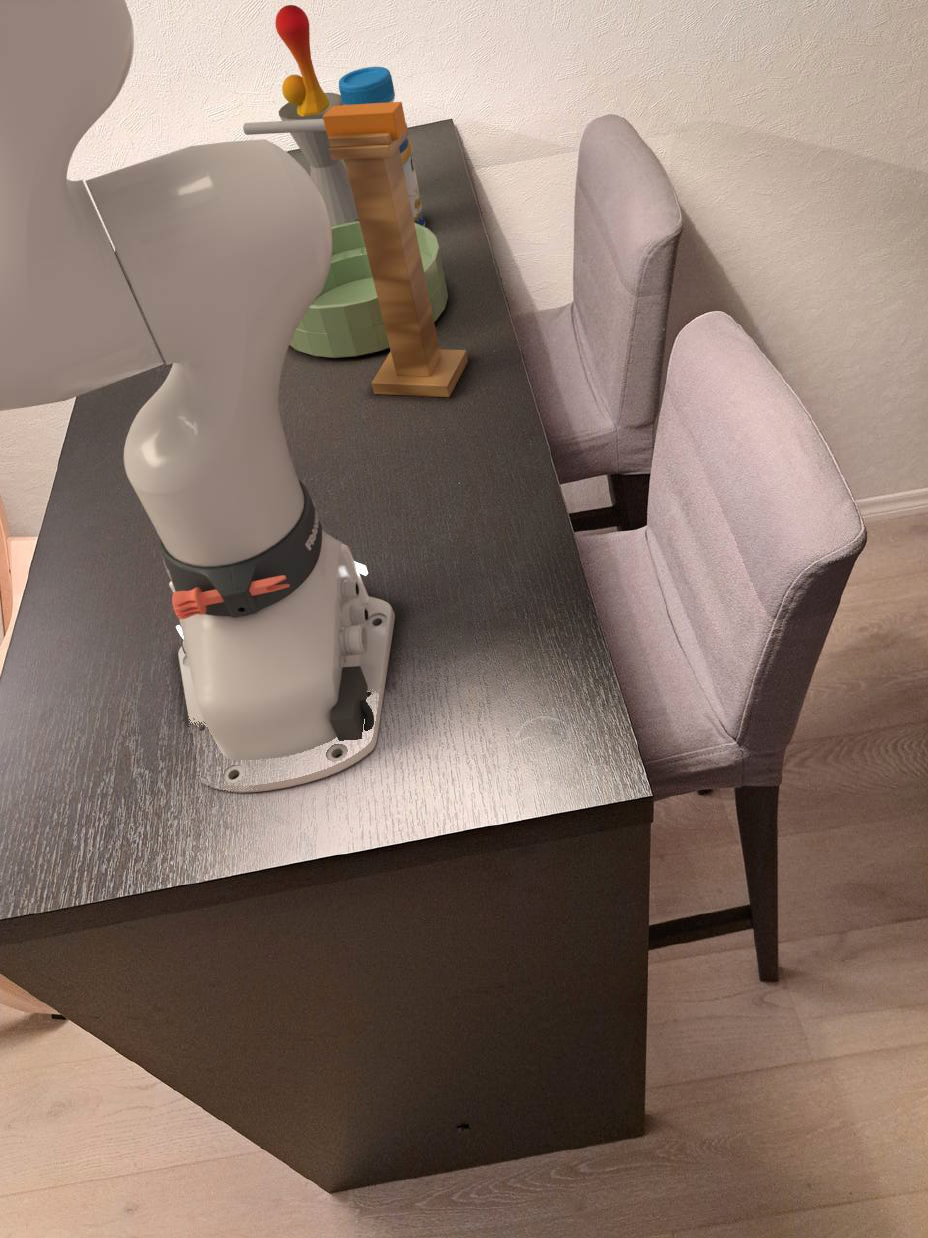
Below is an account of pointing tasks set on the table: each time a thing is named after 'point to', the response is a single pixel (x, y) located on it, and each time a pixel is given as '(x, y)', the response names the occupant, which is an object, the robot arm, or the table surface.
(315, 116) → the lava lamp
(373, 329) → the green pet bowl
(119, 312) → the robot arm
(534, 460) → the table surface
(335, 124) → the screwdriver
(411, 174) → the beverage bottle
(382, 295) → the shelf stand
